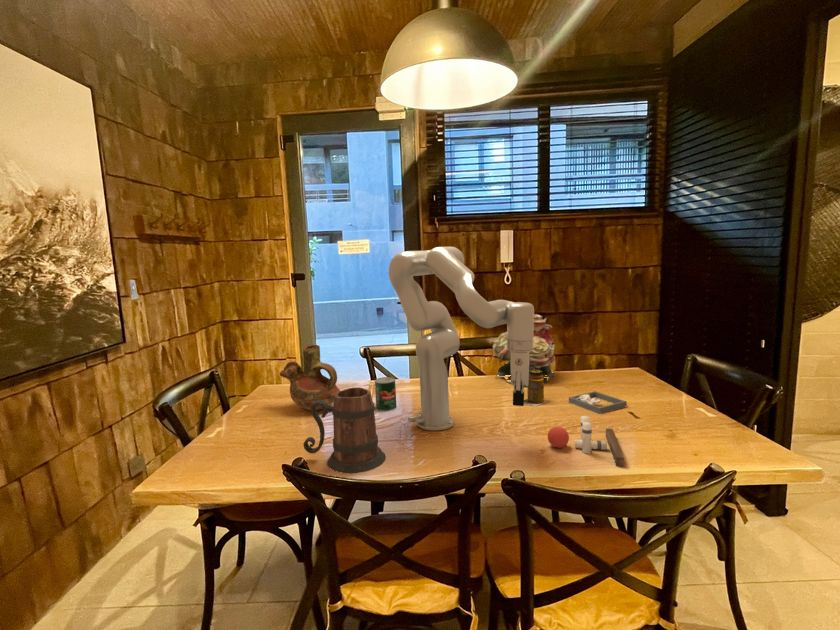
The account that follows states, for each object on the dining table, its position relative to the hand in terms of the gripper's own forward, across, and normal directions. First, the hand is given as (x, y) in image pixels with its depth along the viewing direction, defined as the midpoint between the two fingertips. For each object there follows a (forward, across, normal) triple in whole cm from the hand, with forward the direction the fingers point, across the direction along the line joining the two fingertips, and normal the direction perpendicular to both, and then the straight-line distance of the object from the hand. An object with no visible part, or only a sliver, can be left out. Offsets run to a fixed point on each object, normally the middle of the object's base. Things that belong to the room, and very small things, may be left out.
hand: (518, 404), depth 135 cm
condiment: (+13, +40, -4) cm, 42 cm away
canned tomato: (+14, +25, +50) cm, 58 cm away
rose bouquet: (+13, +71, -2) cm, 72 cm away
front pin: (+10, 0, -16) cm, 20 cm away
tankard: (+14, -19, +48) cm, 53 cm away
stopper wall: (+11, 0, -27) cm, 29 cm away
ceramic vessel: (+15, +20, +79) cm, 83 cm away
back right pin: (+12, -3, -20) cm, 23 cm away
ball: (+9, -1, -12) cm, 15 cm away
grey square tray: (+12, +39, -27) cm, 49 cm away
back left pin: (+12, +2, -20) cm, 23 cm away
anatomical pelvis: (+12, +39, -24) cm, 47 cm away
